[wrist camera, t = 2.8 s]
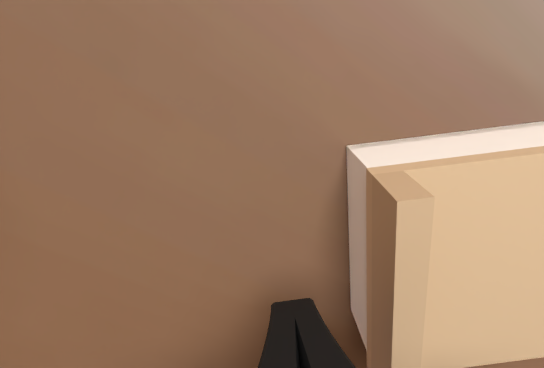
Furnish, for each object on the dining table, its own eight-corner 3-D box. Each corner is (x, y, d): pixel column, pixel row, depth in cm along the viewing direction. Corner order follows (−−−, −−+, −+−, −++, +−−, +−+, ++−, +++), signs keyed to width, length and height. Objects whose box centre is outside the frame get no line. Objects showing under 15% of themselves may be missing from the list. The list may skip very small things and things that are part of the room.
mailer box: (599, 114, 15) (682, 130, 12) (555, 282, 18) (610, 325, 15) (346, 145, 14) (369, 170, 12) (350, 309, 18) (369, 357, 15)
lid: (700, 126, 11) (819, 148, 9) (620, 334, 15) (690, 388, 13) (366, 168, 11) (397, 201, 9) (366, 367, 15) (389, 429, 13)
